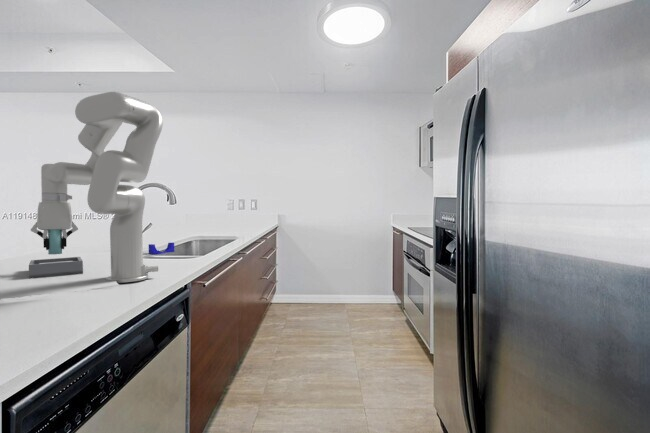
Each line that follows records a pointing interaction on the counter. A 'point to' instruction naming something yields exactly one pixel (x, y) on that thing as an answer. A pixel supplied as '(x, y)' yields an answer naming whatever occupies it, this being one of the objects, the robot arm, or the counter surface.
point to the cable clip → (153, 251)
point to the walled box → (55, 267)
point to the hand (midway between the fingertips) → (55, 248)
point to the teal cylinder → (55, 241)
